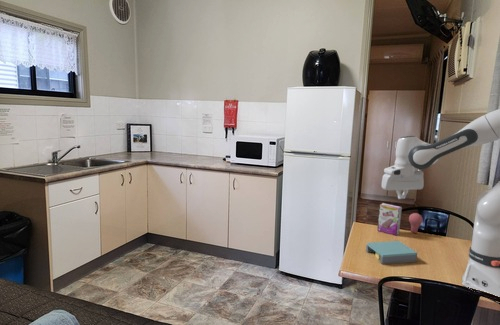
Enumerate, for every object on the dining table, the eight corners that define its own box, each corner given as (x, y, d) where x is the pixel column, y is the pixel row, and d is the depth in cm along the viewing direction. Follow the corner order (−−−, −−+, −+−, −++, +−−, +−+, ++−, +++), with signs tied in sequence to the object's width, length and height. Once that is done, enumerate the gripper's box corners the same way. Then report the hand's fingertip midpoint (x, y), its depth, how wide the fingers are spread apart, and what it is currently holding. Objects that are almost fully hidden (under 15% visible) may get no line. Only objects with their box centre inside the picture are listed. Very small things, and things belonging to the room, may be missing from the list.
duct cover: (417, 254, 152) (417, 252, 152) (382, 257, 149) (382, 255, 149) (398, 242, 166) (398, 240, 165) (366, 244, 162) (366, 242, 162)
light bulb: (422, 233, 189) (424, 213, 187) (418, 236, 184) (420, 216, 182) (410, 229, 194) (412, 210, 192) (405, 232, 189) (407, 213, 187)
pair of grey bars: (416, 261, 153) (417, 254, 152) (381, 264, 149) (382, 257, 149) (397, 249, 166) (398, 242, 166) (365, 251, 163) (366, 244, 162)
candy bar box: (376, 231, 191) (379, 204, 188) (380, 228, 195) (382, 202, 192) (396, 236, 184) (399, 208, 181) (399, 233, 187) (402, 206, 185)
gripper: (419, 168, 156) (416, 196, 159) (380, 169, 153) (378, 197, 155) (428, 171, 150) (425, 199, 152) (388, 171, 146) (386, 201, 149)
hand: (401, 198), depth 154 cm, fingers closed
